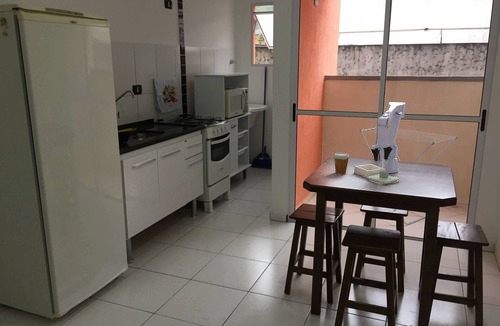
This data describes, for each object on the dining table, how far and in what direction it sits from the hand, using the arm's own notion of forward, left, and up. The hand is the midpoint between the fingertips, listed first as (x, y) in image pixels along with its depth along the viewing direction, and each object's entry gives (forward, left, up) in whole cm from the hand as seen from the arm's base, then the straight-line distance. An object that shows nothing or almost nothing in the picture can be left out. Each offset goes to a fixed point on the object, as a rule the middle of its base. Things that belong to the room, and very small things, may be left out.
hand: (380, 160), depth 247 cm
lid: (+4, +8, -9) cm, 13 cm away
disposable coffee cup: (+16, -17, -11) cm, 26 cm away
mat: (+4, +8, -10) cm, 14 cm away
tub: (+2, -7, -10) cm, 13 cm away
